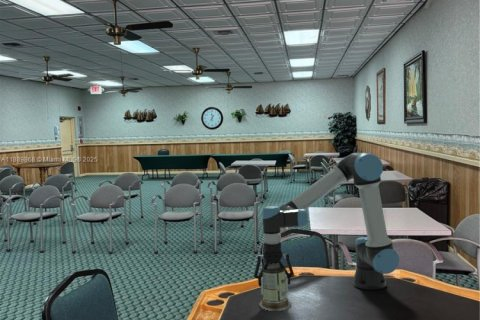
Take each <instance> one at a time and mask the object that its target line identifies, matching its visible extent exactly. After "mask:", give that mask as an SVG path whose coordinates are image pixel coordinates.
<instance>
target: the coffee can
mask: <svg viewBox="0 0 480 320" xmlns="http://www.w3.org/2000/svg"><path fill="white" fill-rule="evenodd" d="M284 267H285V268H286V266H285V265H284ZM285 268H281V266H280V265H279V263H277V264H274V263H273V264H269V265H268V266H267V268H266V269H263V268H262V267H261V269H262V271H263V276H262V278H263V291H264V294H263V295H262V296H263V297H262V299H263V298H264V299H263V300H264V301H265V302H267V303H282V302H284V301H286V300H287V298H288V297H287V293H286V277H285V276H286V274H285ZM286 297H287V298H286Z"/></svg>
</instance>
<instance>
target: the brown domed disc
mask: <svg viewBox="0 0 480 320" xmlns="http://www.w3.org/2000/svg"><path fill="white" fill-rule="evenodd" d="M286 298H287V300H286V301H284V302H282V303H267V302H265V301H264V300H263V299H264V298H263V297H262V300H261V301H260V302H259V304H258V306H260V307H261V308H262V309H261V308H260V307H259V308H260V309H261V310H263V309H265V310H264V311H266V310H268V311H267V312H282V310H283V311H286V309H287V310H289V309H290V308H291V307H292V302H291V301H290V300H289V299H288V297H287V296H286Z"/></svg>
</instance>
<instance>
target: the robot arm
mask: <svg viewBox="0 0 480 320" xmlns="http://www.w3.org/2000/svg"><path fill="white" fill-rule="evenodd" d="M383 165H384V164H383V162H382V160H381V159H380V158H379V157H378V156H377V155H376V154H373V153H370V152H353V153H350V154H349V155H347V156H345V157H344V158H342V159H341V160H340V161H339V162H337V163H336V164H335V165H333V167H332V170H330V171H329V172H327V173H326V174H325V175H323V176H322V177H321V178H319V179H318V180H317V181H314V183H313V184H311V185H310V186H309V187H307V188H306V189H305V190H303V191H302V192H300V193H299V194H298V195H297V196H295V197H294V198H292V199H291V200H289V201H288V202H286V203H284V204H281V205H279V206H278V205H268V206H264V207H263V208H262V216H261V217H262V218H261V219H262V231H263V233H262V234H263V242H264V243H263V254H257V255H256V256H257V257H256V258H257V261H256V265H255V269H254V272H253V273H254V274H253V277H254V279H257V281H258V282H257V284H258V286H259V287H260V293H261V295H262V296H263V294H264V291H263V278H262V276H263V271H262V268H263V269H266V268H267V266H268V265H270V264H279V265H280V266H281V268H285V277H286V294H288V293H289V285H291V277H293V276H295V273H294V270H293V267H292V264H291V261H290V254H289V253H288V252H285V253H283V252H282V237H281V236H282V233H281V231H282V230H281V229H284V228H285V229H286V228H298V227H299V228H300V227H307V225H308V223H309V222H308V221H309V218H308V217H309V216H308V212H307V209H309V208H310V207H312V206H313V205H314V204H316V203H317V202H318V201H320V200H321V199H322V198H324V197H325V196H326V195H328V194H329V193H331V191H334V189H336V188H337V187H338V186H340V185H342V183H344V184H346V183H347V182H349V181H351V180H352V181H353V184H354V186H355V187H356V188H358V192H359V198H360V203H361V208H362V209H361V210H362V213H363V219H364V225H365V231H366V236H363V237H362V236H361V237H358V238H356V239H355V245H354V246H355V262H356V263H355V265H356V268H355V273H354V275H353V280H352V285H353V287H355V288H358V289H361V290H369V291H371V290H372V291H374V290H375V291H377V290H381V289H384V288H385V287H386V286H387V281H386V278H385V275H387V274H391V273H393V272H394V271H396V270H397V268H398V267H399V265H400V256H399V254H398V252H397V251H396V250H395V249H394V245H393V240H392V239H391V238H389V236H388V231H387V227H386V220H385V215H384V211H383V205H382V204H383V203H382V198H381V194H380V193H381V192H380V187H379V186H380V183H381V182H382V179H381V176H382V174H383V171H384V166H383ZM282 258H284V259H285V262H286V264H287V267H288V270H289V271H288V270H287V269H286V266H285V265H284V264H283V262H282V261H281V260H282ZM263 259H264V260H265V261H264V264H263V266H262V267H261V261H262V260H263ZM284 266H285V267H284ZM260 267H261V269H260ZM259 270H260V271H259Z"/></svg>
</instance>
